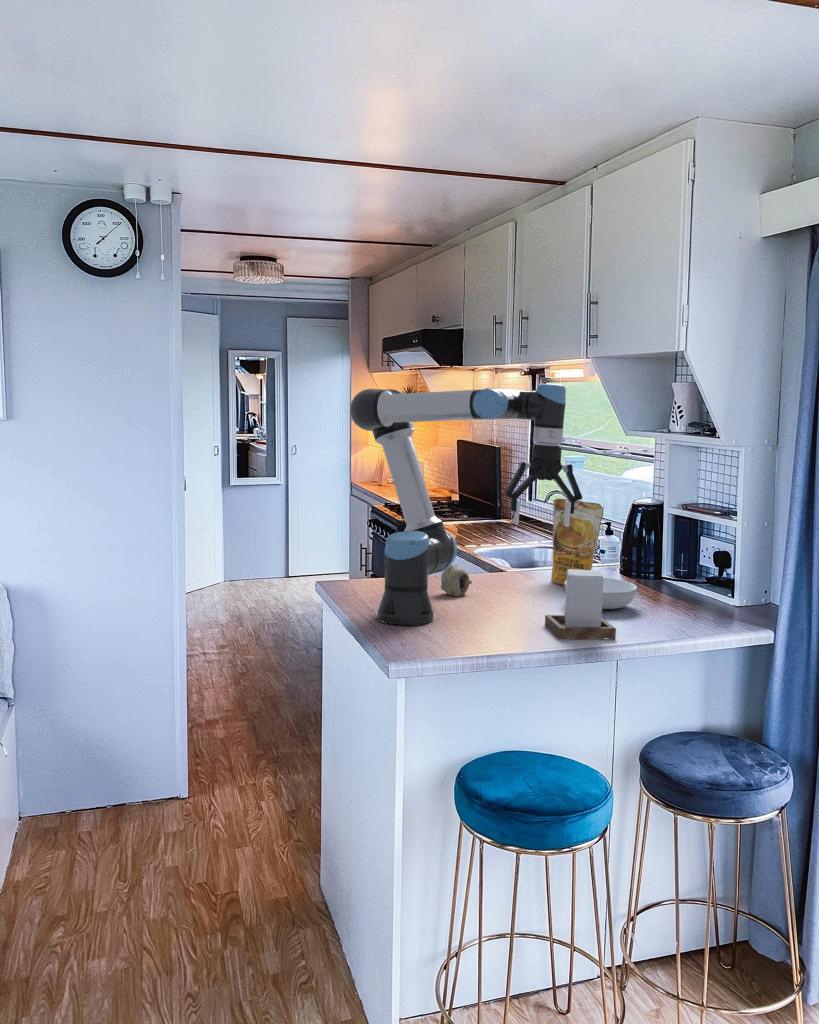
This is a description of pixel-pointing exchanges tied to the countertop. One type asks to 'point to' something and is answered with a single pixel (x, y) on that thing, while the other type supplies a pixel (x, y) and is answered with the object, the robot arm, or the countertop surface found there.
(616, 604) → the serving bowl
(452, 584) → the greenish lumpy pot
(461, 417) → the robot arm
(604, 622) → the brown wooden tray
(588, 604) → the supplement box
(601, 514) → the pancake mix bag
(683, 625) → the countertop surface
